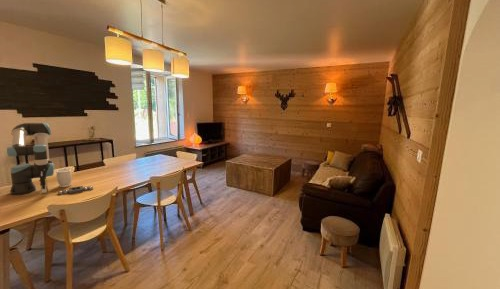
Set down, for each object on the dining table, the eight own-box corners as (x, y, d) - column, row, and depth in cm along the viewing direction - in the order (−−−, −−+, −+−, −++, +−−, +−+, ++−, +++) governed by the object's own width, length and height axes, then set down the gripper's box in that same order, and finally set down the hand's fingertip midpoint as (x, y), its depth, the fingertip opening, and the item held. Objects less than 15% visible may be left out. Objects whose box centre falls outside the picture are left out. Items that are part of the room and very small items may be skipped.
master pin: (41, 192, 177) (39, 179, 175) (49, 191, 180) (47, 178, 178) (40, 195, 173) (38, 180, 171) (48, 193, 176) (47, 179, 174)
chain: (58, 192, 186) (58, 189, 185) (92, 187, 200) (92, 184, 200) (58, 195, 178) (57, 192, 178) (92, 190, 193) (92, 187, 192)
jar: (54, 188, 193) (53, 172, 191) (61, 184, 203) (60, 168, 200) (68, 187, 196) (67, 171, 194) (74, 183, 206) (73, 168, 203)
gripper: (36, 161, 176) (39, 188, 181) (33, 167, 163) (36, 196, 168) (48, 160, 181) (51, 187, 185) (46, 166, 168) (49, 194, 172)
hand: (44, 191), depth 176 cm, fingers closed on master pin, 4 cm apart
